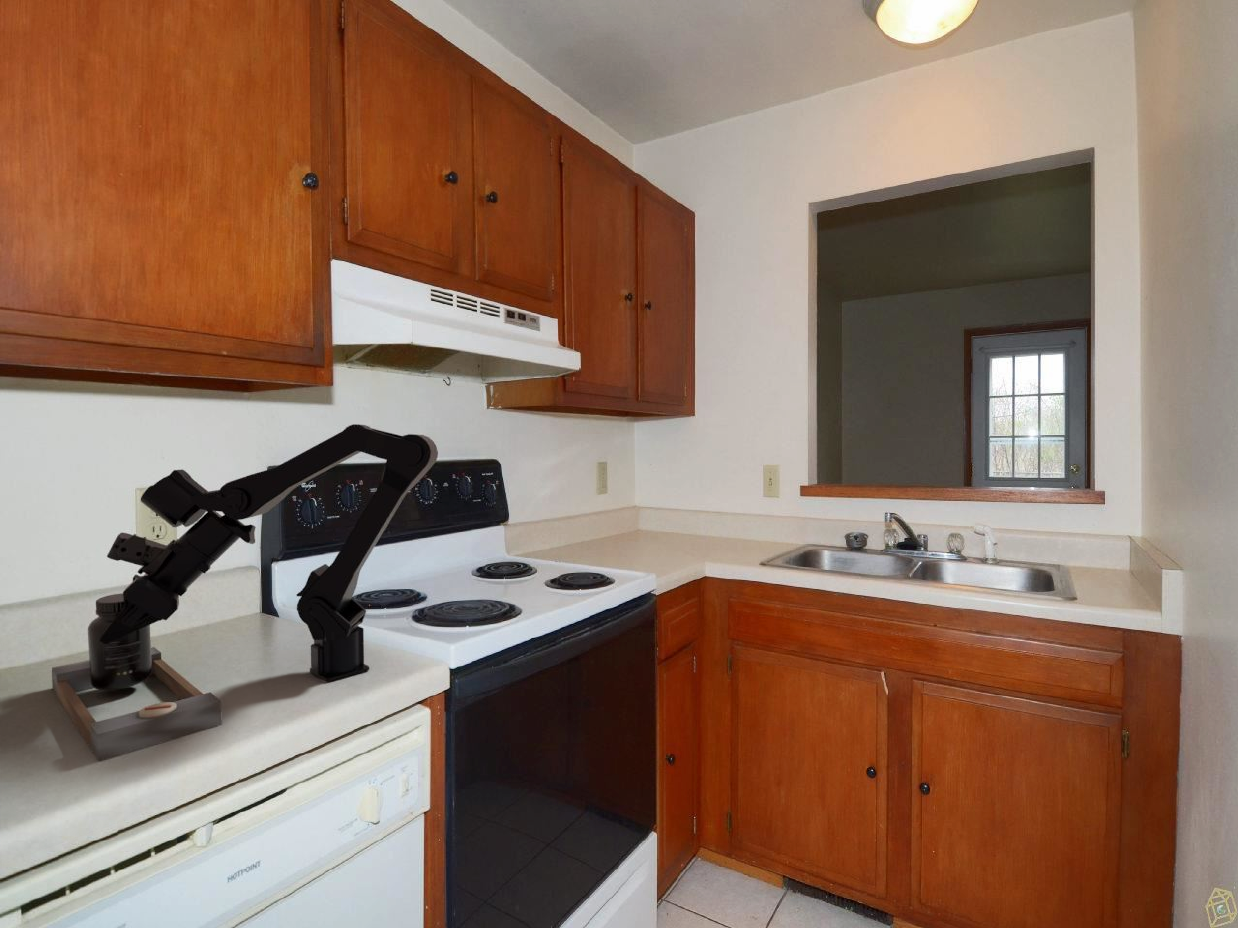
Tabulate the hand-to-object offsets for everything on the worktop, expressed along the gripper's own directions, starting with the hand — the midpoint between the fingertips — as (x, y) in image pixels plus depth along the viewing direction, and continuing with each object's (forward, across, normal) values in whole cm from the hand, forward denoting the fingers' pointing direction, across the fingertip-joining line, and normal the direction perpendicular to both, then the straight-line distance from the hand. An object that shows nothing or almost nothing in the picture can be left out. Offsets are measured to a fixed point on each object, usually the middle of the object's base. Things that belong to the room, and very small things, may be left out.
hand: (106, 635), depth 88 cm
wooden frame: (+4, +6, +8) cm, 11 cm away
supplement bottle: (+4, 0, +6) cm, 7 cm away
